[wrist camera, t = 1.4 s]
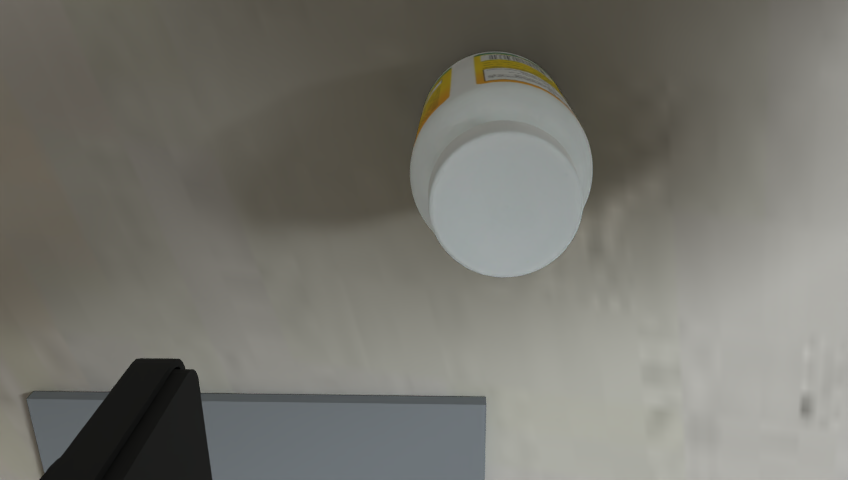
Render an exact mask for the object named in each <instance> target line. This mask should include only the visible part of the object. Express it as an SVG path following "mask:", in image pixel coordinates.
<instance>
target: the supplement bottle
mask: <svg viewBox="0 0 848 480" xmlns="http://www.w3.org/2000/svg"><path fill="white" fill-rule="evenodd" d="M592 176H593V163H592V154H591V149H590V145H589V142H588V139H587V137H586V134H585V132H584V130H583V128H582V126H581V124H580V123H579V121H578V119H577V118H576V116H575V114H574V113H573V111H572V110H571V108H570V106H569V105H568V103H567V102H566V100H565V98H564V97H563V95H562V94H561V92H560V91H559V89H558V87H557V86H556V84H555V83H554V81H553V80H552V79H551V78H550V76H549V75H548V74H547V73H546V72H545V71H544V70H543V69H542V68H540V67H539V66H538V65H537V64H535V63H534V62H532V61H530V60H528V59H526V58H524V57H522V56H519V55H516V54H512V53H507V52H497V51H493V52H483V53H477V54H474V55H471V56H468V57H466V58H464V59H462V60H460V61H458V62H456V63H455V64H453V65H452V66H451V67H449V68H448V69H447V70H446V71H445V72H444V73H443V74H442V75H441V76H440V77H439V78H438V79H437V81H436V82H435V84H434V85H433V87H432V88H431V90H430V92H429V94H428V96H427V99H426V101H425V104H424V107H423V112H422V115H421V119H420V123H419V127H418V131H417V136H416V140H415V143H414V147H413V151H412V156H411V162H410V183H411V190H412V194H413V198H414V201H415V204H416V206H417V209H418V211H419V213H420V214H421V216H422V218H423V220H424V221H425V222H426V224H427V225H428V226H429V228H430V229H431V230H432V231H433V232H434V234H435V236H436V238H437V240H438V241H439V243H440V244H441V246H442V247H443V248H444V250H445V251H446V252H447V253H448V254H449V255H450V256H451V257H452V258H453V259H454V260H455V261H457V262H458V263H459V264H461V265H462V266H464V267H466V268H467V269H469V270H472V271H474V272H477V273H479V274H482V275H487V276H493V277H516V276H522V275H526V274H529V273H532V272H535V271H537V270H539V269H541V268H543V267H545V266H546V265H548V264H550V263H551V262H552V261H554V260H555V259H556V258H557V257H558V256H560V255H561V254H562V253H563V252H564V250H565V249H566V248H567V247H568V245H569V244H570V243H571V241H572V240H573V238H574V236H575V234H576V232H577V230H578V227H579V224H580V221H581V217H582V213H583V208H584V206H585V204H586V202H587V199H588V196H589V193H590V189H591V184H592Z"/></svg>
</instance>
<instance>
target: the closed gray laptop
mask: <svg viewBox="0 0 848 480" xmlns="http://www.w3.org/2000/svg"><path fill="white" fill-rule="evenodd" d="M109 393H110V392H47V391H33V392H32V394H31V395H30V396H29V397H28V398H27V403H28V408H29V412H30V416H31V420H32V424H33V428H34V432H35V436H36V441H37V445H38V449H39V453H40V457H41V461H42V465H43V469H44V473H45V472H46V471H47V469H48V468H49V467H50V466H51V465H52V464H53V463H54V462H55V461H56V460H57V459H58V458H60V457H61V456H62V455H63V453H64V452H65V451H66V449H67V448H68V447H69V445H70V444H71V443H72V441H73V440H74V439H75V437H76V436H77V435H78V433H79V432H80V431H81V430H82V428H83V427H84V426H85V424H86V423H87V422H88V420H89V419H90V418H91V416H92V415H93V414H94V412H95V411H96V410H97V408H98V407H99V406H100V405H101V403H102V402H103V401H104V399H105V398H106V397H107V395H108V394H109ZM200 394H201V401H202V408H203V415H204V423H205V430H206V437H207V444H208V451H209V459H210V466H211V473H212V480H485V434H486V397H454V396H372V395H291V394H210V393H200Z"/></svg>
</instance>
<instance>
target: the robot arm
mask: <svg viewBox="0 0 848 480" xmlns="http://www.w3.org/2000/svg"><path fill="white" fill-rule="evenodd" d="M40 480H212V473H211V466H210V459H209V451H208V444H207V437H206V430H205V423H204V415H203V408H202V401H201V394H200V387H199V380H198V375H197V373H196V371H195V370H193V369H185V366H184V364H183V362H182V361H181V360H180V359H143V358H140V359H136V360H135V361H134V362H133V363H132V364H131V365H130V366H129V368H128V369H127V370H126V372H125V373H124V374H123V376H122V377H121V378H120V380H119V381H118V382H117V383H116V385H115V386H114V387H113V389H112V390H111V391H110V393H109V394H108V395H107V397H106V398H105V399H104V401H103V402H102V403H101V405H100V406H99V407H98V408H97V410H96V411H95V412H94V414H93V415H92V416H91V418H90V419H89V420H88V422H87V423H86V424H85V426H84V427H83V428H82V430H81V431H80V432H79V433H78V435H77V436H76V437H75V439H74V440H73V441H72V443H71V444H70V445H69V447H68V448H67V449H66V451H65V452H64V453H63V455H62V456H61V457H60V458H58V459H57V460H56V461H55V462H54V463H53V464H52V465H51V466H50V467H49V468H48V469H47V471H46V472H45V473H44V475H43V476H42V477H41V479H40Z"/></svg>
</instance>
